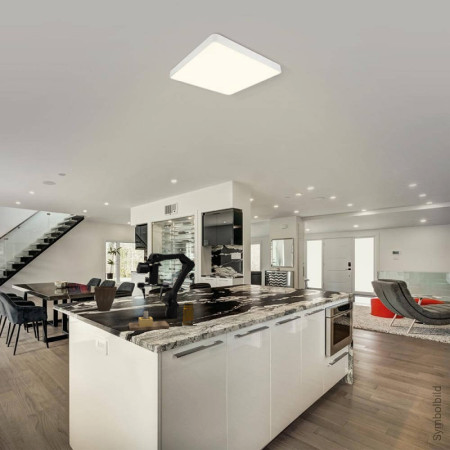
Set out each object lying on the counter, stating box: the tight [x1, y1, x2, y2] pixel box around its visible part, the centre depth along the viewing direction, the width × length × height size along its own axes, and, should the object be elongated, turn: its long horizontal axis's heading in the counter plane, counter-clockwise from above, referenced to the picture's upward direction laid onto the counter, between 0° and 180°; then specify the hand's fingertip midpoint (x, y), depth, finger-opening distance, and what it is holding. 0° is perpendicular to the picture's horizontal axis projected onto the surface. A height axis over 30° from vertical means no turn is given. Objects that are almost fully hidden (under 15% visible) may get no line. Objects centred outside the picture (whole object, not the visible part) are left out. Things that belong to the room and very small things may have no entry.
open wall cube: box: [137, 316, 154, 327], centre depth 160 cm, size 7×7×4 cm
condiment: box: [181, 302, 195, 327], centre depth 171 cm, size 7×8×12 cm
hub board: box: [128, 310, 170, 332], centre depth 162 cm, size 20×12×8 cm, turn 111°
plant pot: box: [93, 285, 118, 312], centre depth 206 cm, size 15×15×16 cm
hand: (152, 299), depth 181 cm, fingers open, 9 cm apart
